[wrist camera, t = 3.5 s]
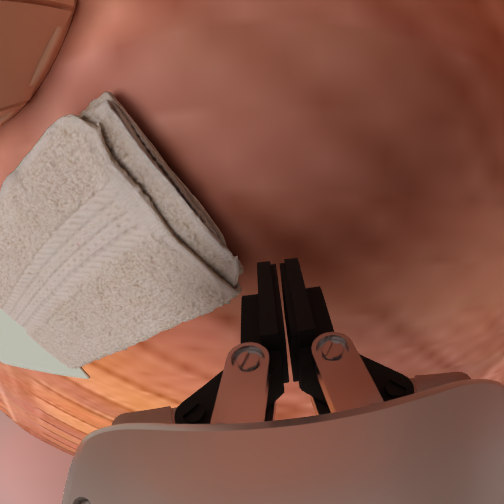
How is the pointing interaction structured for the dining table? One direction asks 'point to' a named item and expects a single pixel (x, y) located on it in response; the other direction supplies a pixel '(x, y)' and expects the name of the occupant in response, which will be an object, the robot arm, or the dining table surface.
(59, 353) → the washcloth
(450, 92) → the dining table surface
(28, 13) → the bowl
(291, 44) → the dining table surface
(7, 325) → the mat
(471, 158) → the dining table surface
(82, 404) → the dining table surface
